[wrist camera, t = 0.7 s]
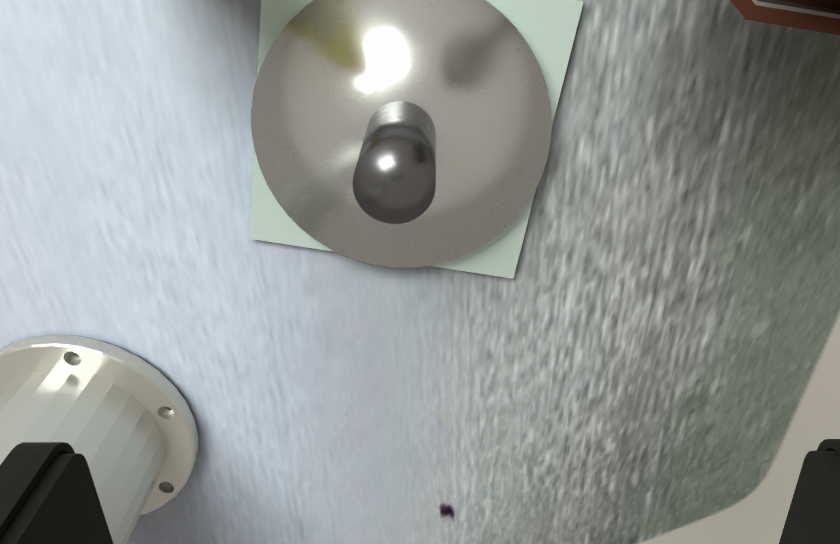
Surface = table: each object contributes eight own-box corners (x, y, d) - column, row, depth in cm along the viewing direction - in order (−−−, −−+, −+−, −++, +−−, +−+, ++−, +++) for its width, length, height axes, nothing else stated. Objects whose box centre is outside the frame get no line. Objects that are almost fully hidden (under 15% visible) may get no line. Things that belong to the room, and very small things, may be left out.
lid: (513, 278, 35) (529, 358, 29) (248, 238, 35) (208, 311, 29) (583, 1, 29) (621, 31, 23) (264, -55, 28) (217, -39, 22)
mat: (512, 274, 36) (513, 278, 35) (250, 235, 35) (248, 238, 35) (581, 0, 30) (583, 1, 29) (265, -55, 29) (263, -55, 28)
